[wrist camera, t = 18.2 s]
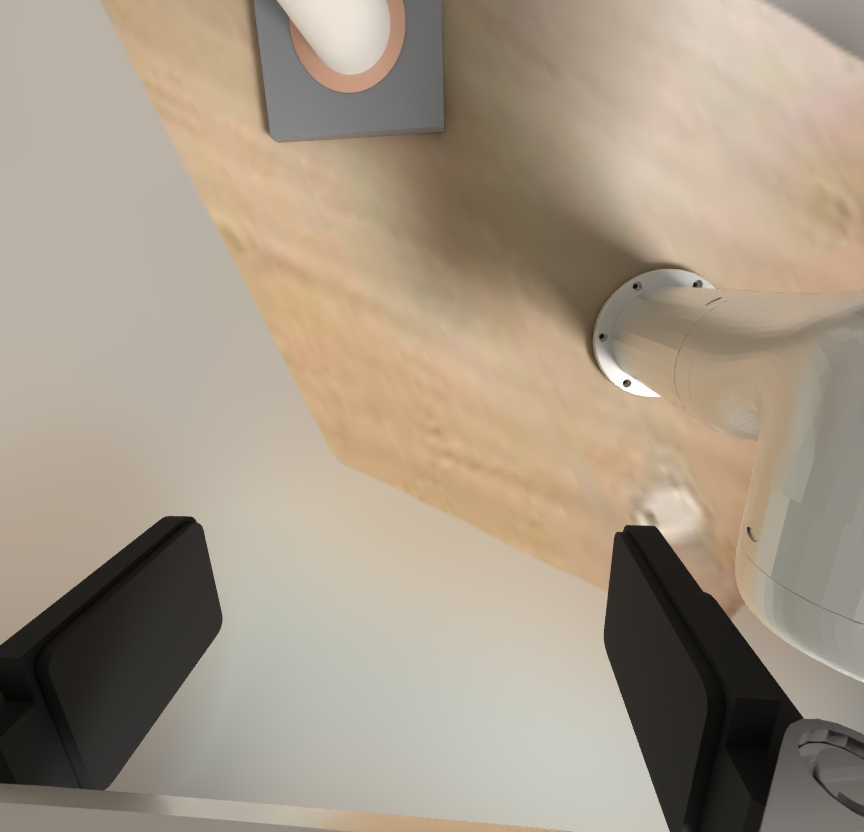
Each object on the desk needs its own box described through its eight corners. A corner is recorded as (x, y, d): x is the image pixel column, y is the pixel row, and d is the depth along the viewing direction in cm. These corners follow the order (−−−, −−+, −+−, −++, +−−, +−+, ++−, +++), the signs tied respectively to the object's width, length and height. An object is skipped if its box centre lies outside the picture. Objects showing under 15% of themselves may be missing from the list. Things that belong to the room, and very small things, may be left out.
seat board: (440, -95, 35) (438, -114, 34) (444, 131, 40) (443, 125, 39) (251, -74, 37) (240, -91, 35) (278, 142, 42) (269, 137, 40)
